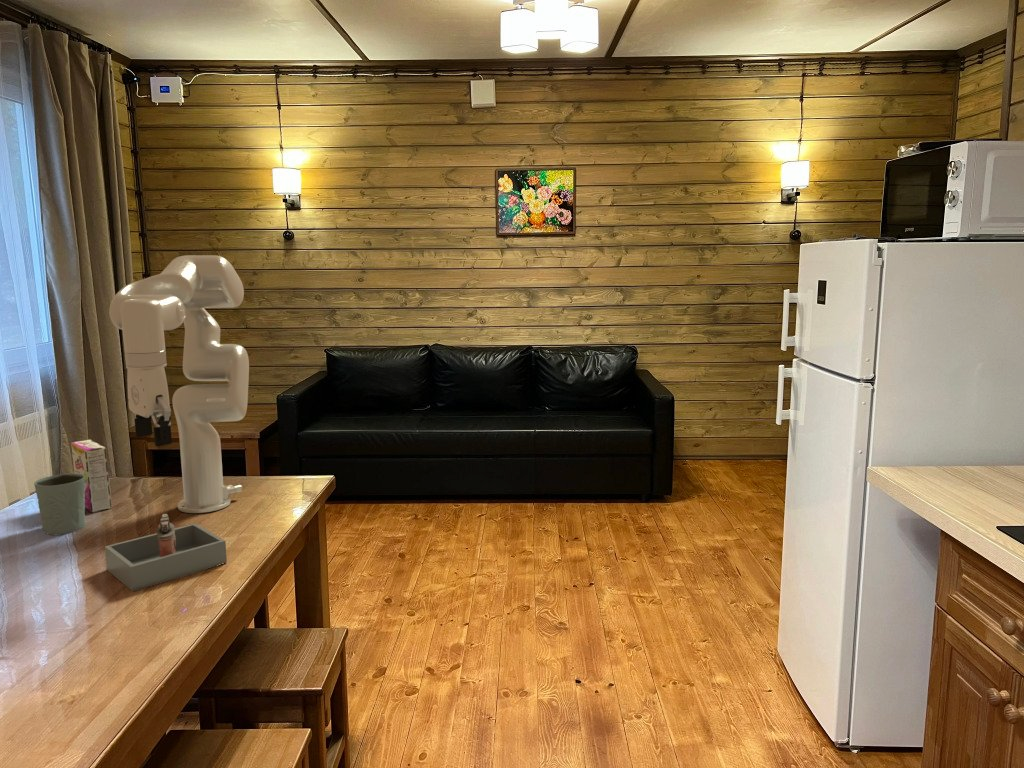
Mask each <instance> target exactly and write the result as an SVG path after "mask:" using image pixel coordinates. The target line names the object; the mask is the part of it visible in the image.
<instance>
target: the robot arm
mask: <svg viewBox="0 0 1024 768" xmlns="http://www.w3.org/2000/svg"><path fill="white" fill-rule="evenodd" d="M244 296H245V289H244V284H243V282H242V280H241V277H239V275H238V273H237V272H236V269H235V268H234V266H233V265H232V264H231V263H230V261H229V260H227V258H225V257H223V256H221V255H210V254H209V255H205V254H204V255H203V254H201V255H200V254H199V255H196V254H195V255H194V254H191V255H190V254H187V255H181V256H177V257H175V258H173V259H172V260H171V261H170V263H169V264H168V265H167V266H166V267H165V268H164V269H163V270H162V271H161V272H160V273H158V274H155V275H152V276H149V277H146V278H143V279H140V280H136V281H134V282H130V283H128V284H126V285H124V286H123V287H122V288H121V289H119V291H117V293H116V294H115V295H114V297H113V298H112V300H111V302H110V303H109V304H110V305H109V311H108V312H109V313H108V314H109V318H110V321H111V323H112V324H113V326H115V328H117V329H119V330H122V338H123V350H124V360H125V368H126V369H127V374H126V375H127V376H126V377H127V379H126V380H127V381H126V382H127V383H126V384H127V399H128V400H127V401H128V409H129V410H130V412H132V413H133V414H132V415H133V418H134V419H133V420H134V428H135V429H134V430H135V437H137V438H142V437H147V436H152V435H153V438H154V439H153V440H154V446H156V447H162V446H168V445H172V444H173V439H172V438H173V437H172V429H171V428H172V427H171V426H172V422H171V419H172V414H171V413H172V410H173V412H174V417H175V420H176V425H177V429H178V430H177V431H178V437H179V438H178V439H179V447H180V448H179V449H180V450H179V452H180V464H181V473H182V474H181V476H182V477H181V478H182V491H183V499H182V500H180V501H179V502H178V503H177V509H178V510H179V511H180V512H183V513H187V514H203V513H210V512H214V511H215V512H217V511H219V510H222V509H224V508H227V507H229V505H230V504H231V495H232V494H237V493H242V491H243V486H242V485H241V484H236V485H232V484H228V485H226V484H224V477H223V475H224V474H223V462H222V446H221V436H220V434H219V432H218V431H217V430H216V428H214V426H213V425H212V424H211V423H219V422H220V423H221V422H238V421H241V420H243V419H244V418H245V416H246V414H247V409H248V403H249V402H248V399H249V379H250V378H249V377H250V376H249V375H250V359H249V355H248V351H247V350H246V348H245V347H243V346H242V345H240V344H235V343H221V327H220V325H219V323H218V322H217V321H216V319H215V318H214V317H213V316H212V315H211V314H210V313H209V312H208V311H207V310H206V309H232V308H233V309H234V308H237V307H239V306H240V305H242V303H243V301H244ZM182 324H183V325H184V339H183V340H184V342H183V354H182V355H183V356H182V372H183V375H184V377H185V378H186V379H187V380H190V381H194V382H228V383H220V384H219V383H213V384H212V383H209V384H208V383H204V384H201V383H199V384H186V385H183V386H181V387H179V388H177V389H176V390H175V391H174V393H173V395H172V401H171V402H172V408H173V409H172V408H171V406H170V395H169V394H170V393H169V387H168V386H169V385H168V380H167V375H166V371H165V367H167V365H168V363H167V361H168V360H167V352H166V341H165V340H166V339H165V331H173V330H175V329H178V328H179V327H180V326H182ZM152 422H153V424H154V426H155V427H153V424H152Z"/></svg>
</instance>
